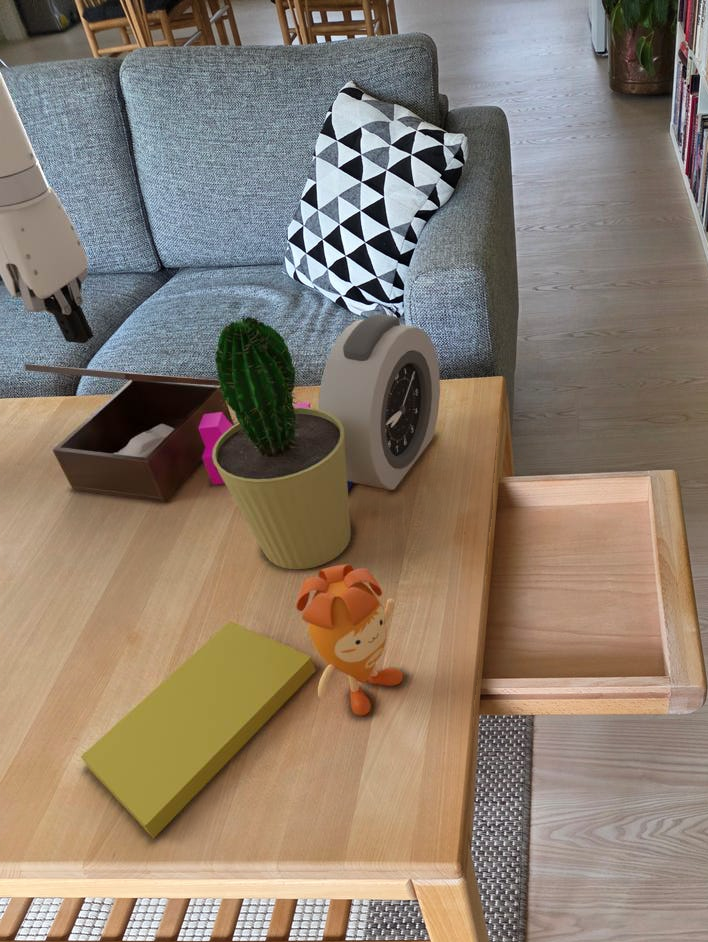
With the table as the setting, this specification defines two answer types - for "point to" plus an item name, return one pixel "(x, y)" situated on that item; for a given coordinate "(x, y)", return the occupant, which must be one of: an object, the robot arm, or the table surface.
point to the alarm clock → (382, 397)
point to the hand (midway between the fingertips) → (80, 339)
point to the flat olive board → (195, 722)
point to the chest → (129, 416)
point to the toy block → (211, 432)
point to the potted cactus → (280, 451)
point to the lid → (120, 375)
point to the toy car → (146, 441)
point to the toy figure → (348, 628)
